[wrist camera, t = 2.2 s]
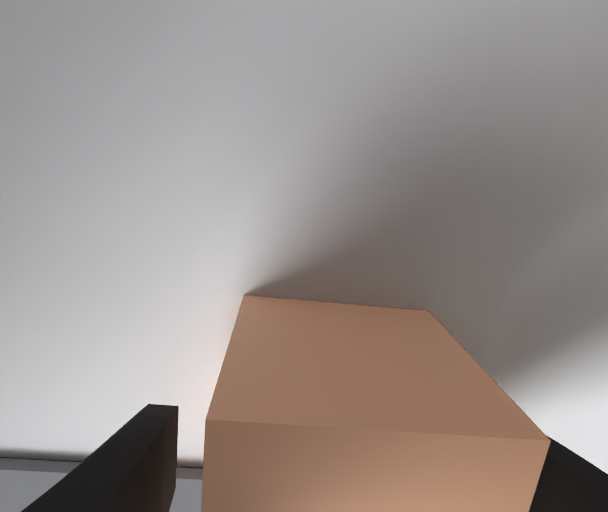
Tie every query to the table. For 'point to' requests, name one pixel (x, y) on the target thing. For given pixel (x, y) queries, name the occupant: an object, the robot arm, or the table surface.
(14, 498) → the charcoal mat
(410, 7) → the table surface
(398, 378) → the terracotta block
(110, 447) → the robot arm
